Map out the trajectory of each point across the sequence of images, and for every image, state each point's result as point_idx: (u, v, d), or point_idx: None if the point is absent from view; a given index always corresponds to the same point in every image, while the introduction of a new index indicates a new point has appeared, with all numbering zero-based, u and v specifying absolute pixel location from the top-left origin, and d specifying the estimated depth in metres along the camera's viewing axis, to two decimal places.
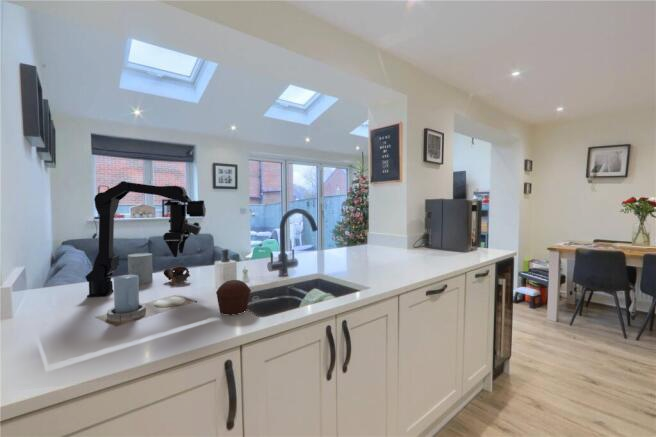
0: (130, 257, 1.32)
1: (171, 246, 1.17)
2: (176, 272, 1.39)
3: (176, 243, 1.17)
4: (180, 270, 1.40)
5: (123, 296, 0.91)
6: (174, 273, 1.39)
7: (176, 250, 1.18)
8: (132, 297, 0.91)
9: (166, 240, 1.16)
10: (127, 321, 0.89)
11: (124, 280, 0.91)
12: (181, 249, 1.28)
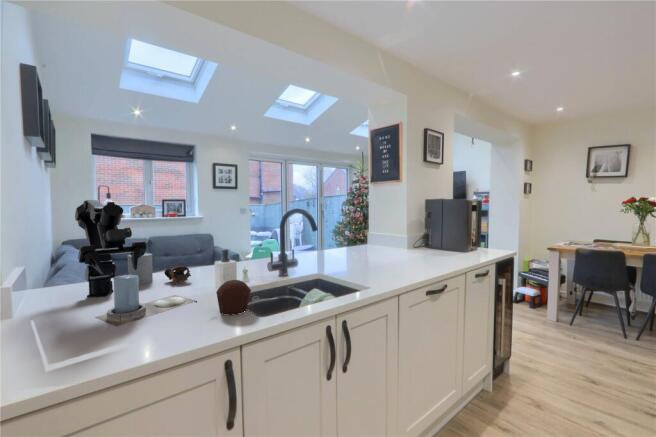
0: (130, 257, 1.32)
1: (94, 265, 0.97)
2: (177, 272, 1.40)
3: None
4: (181, 270, 1.40)
5: (123, 296, 0.91)
6: (175, 273, 1.39)
7: (97, 266, 0.96)
8: (132, 297, 0.91)
9: None
10: (127, 321, 0.89)
11: (124, 280, 0.91)
12: (134, 265, 1.03)
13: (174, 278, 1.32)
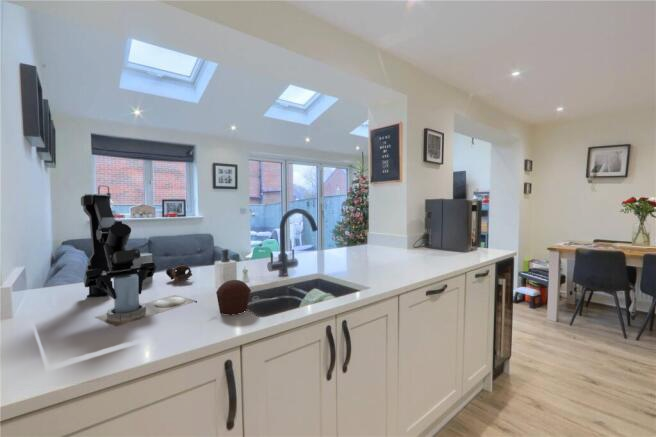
0: None
1: (105, 289, 0.92)
2: (178, 271, 1.40)
3: None
4: (182, 269, 1.41)
5: (123, 296, 0.91)
6: (176, 272, 1.40)
7: (109, 290, 0.91)
8: (132, 297, 0.91)
9: None
10: (127, 321, 0.89)
11: (124, 280, 0.91)
12: None
13: (176, 278, 1.33)
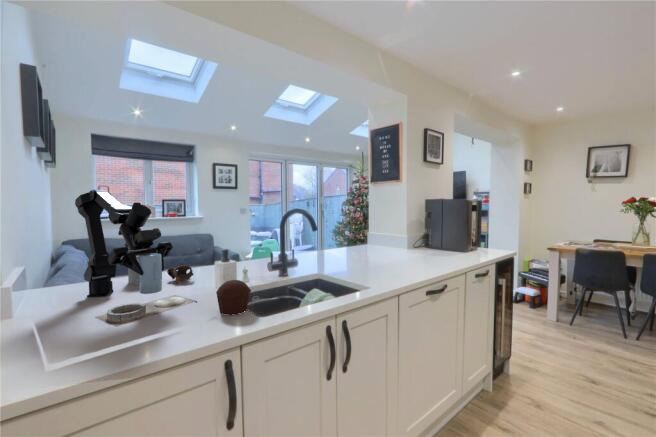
0: None
1: (131, 266, 0.97)
2: (179, 271, 1.41)
3: (131, 260, 0.96)
4: (183, 269, 1.42)
5: (150, 272, 0.97)
6: (177, 272, 1.41)
7: (136, 267, 0.96)
8: (160, 272, 0.97)
9: None
10: (127, 321, 0.89)
11: (151, 257, 0.97)
12: None
13: (177, 277, 1.34)
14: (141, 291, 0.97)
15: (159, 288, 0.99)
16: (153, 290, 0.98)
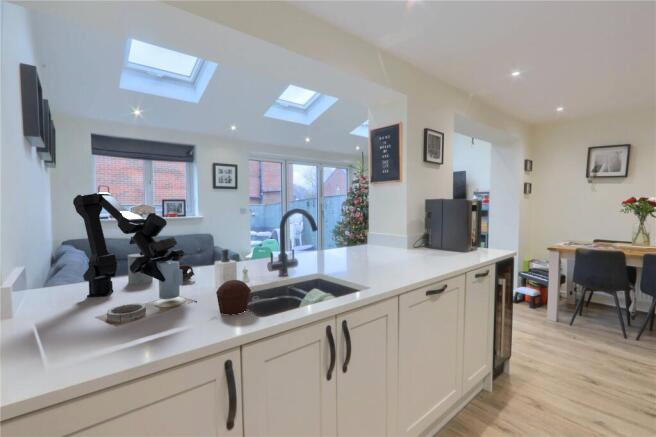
0: (130, 257, 1.32)
1: (151, 273, 1.02)
2: None
3: (152, 268, 1.02)
4: (184, 269, 1.42)
5: (171, 278, 1.04)
6: None
7: (158, 274, 1.02)
8: (181, 278, 1.04)
9: None
10: (127, 321, 0.89)
11: (172, 264, 1.04)
12: None
13: None
14: (162, 297, 1.03)
15: (178, 293, 1.06)
16: (174, 295, 1.04)
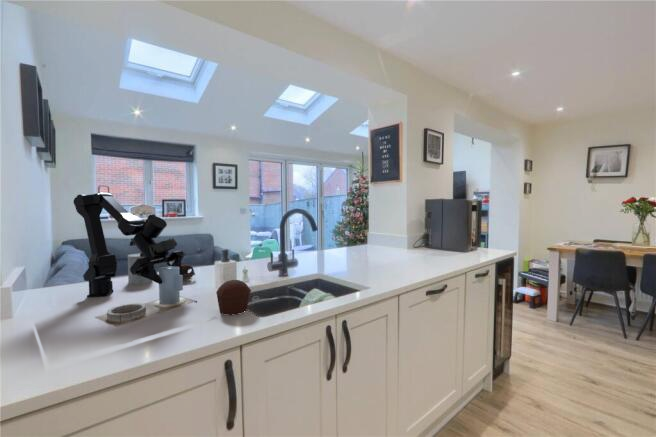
0: (130, 257, 1.32)
1: (149, 276, 1.01)
2: None
3: (149, 270, 1.01)
4: (185, 269, 1.42)
5: (171, 284, 1.04)
6: None
7: (155, 276, 1.01)
8: (181, 284, 1.05)
9: None
10: (127, 321, 0.89)
11: (172, 270, 1.04)
12: (180, 273, 1.10)
13: None
14: (162, 302, 1.03)
15: (178, 298, 1.07)
16: (174, 301, 1.05)
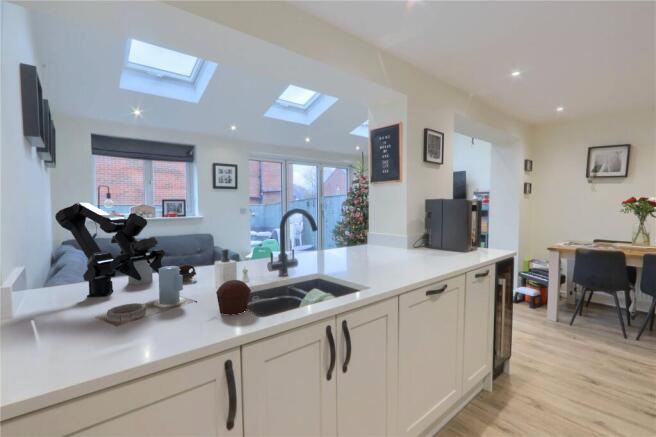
0: None
1: (128, 272, 1.04)
2: (182, 270, 1.43)
3: (129, 266, 1.04)
4: (186, 268, 1.43)
5: (171, 284, 1.04)
6: (180, 271, 1.42)
7: (134, 273, 1.04)
8: (181, 284, 1.04)
9: None
10: (127, 321, 0.89)
11: (172, 270, 1.04)
12: None
13: None
14: (162, 302, 1.03)
15: (178, 298, 1.07)
16: (174, 301, 1.05)
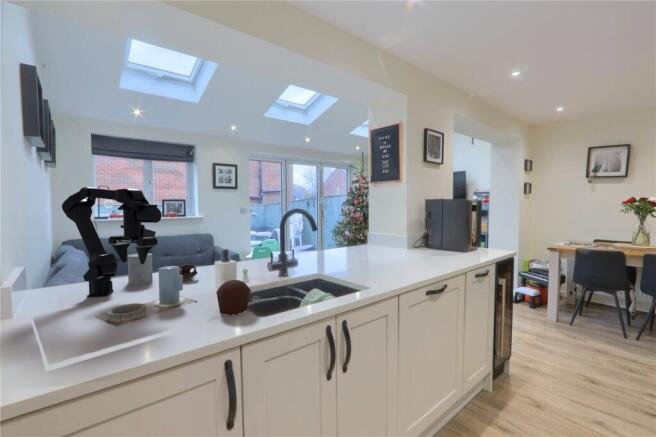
0: (130, 257, 1.32)
1: (142, 253, 1.11)
2: (183, 270, 1.43)
3: (147, 249, 1.13)
4: (187, 268, 1.44)
5: (171, 284, 1.04)
6: (181, 271, 1.43)
7: (145, 256, 1.13)
8: (181, 284, 1.04)
9: (141, 247, 1.09)
10: (127, 321, 0.89)
11: (172, 270, 1.04)
12: (125, 258, 1.16)
13: None
14: (162, 302, 1.03)
15: (178, 298, 1.07)
16: (174, 301, 1.05)
